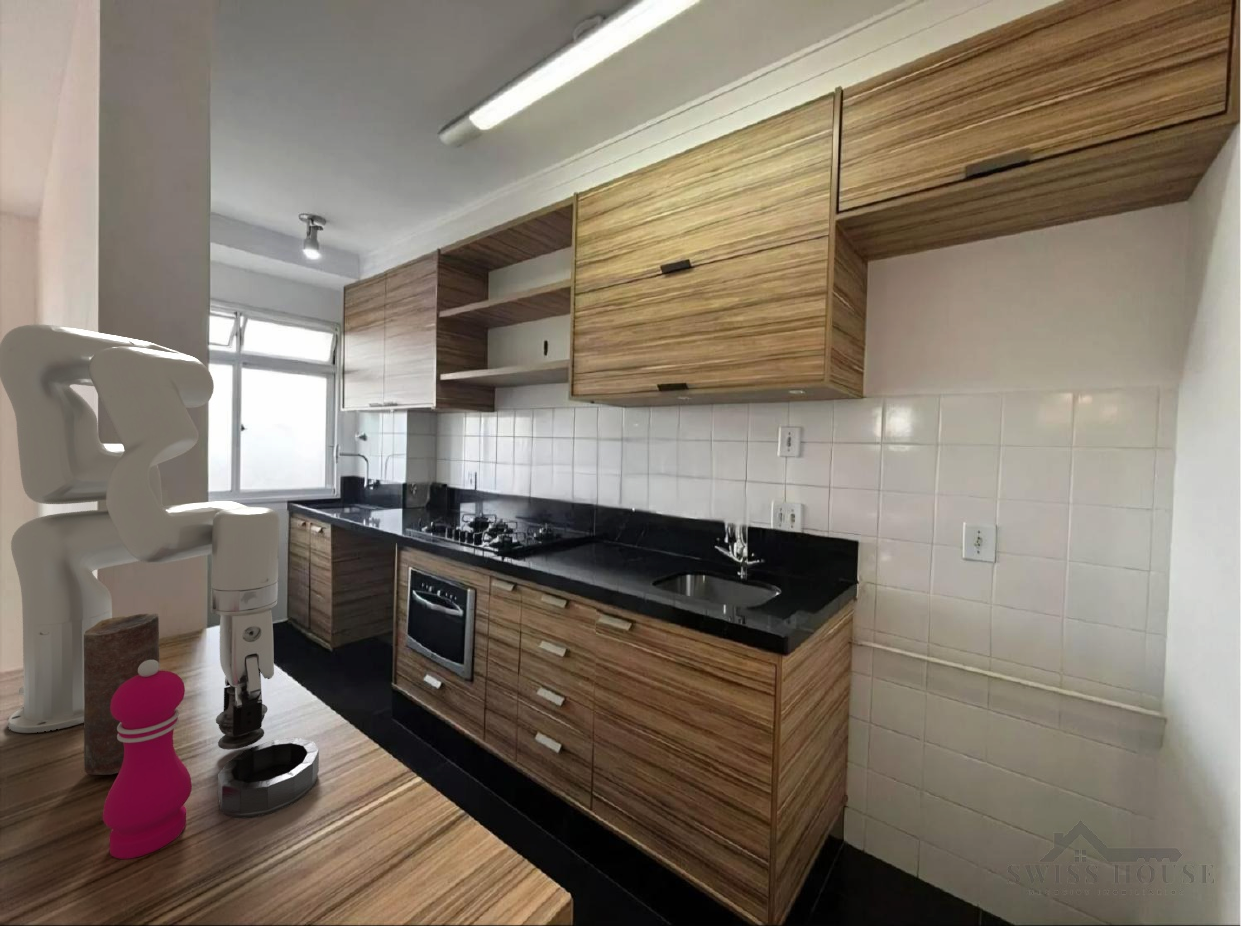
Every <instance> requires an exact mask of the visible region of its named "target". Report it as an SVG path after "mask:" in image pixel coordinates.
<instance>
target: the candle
mask: <svg viewBox="0 0 1241 926" xmlns="http://www.w3.org/2000/svg"><path fill="white" fill-rule="evenodd" d="M159 622H160V621H159V615H158V614H157V613H155V612H154V613H138V614H132V615H128V616H117V617H112V618H110V619H106V620H101V621H100V622H98V623H97V624H96V625H95V626H94V627H91V628H90V629H88V630H87V631H85V634H84V723H83V743H84V745H83V746H84V747H83V754H84V755H83V759H84V760H83V765H84V772H85V773H86V774H87V775H103V776H105V775H106V776H107V775H115V774H119V771H120V769H121V767H122V763H123V760H124V744H123V742H121V741H119V740H118V739H117V735H118V731H117V727H118V725H119V724H120V723H121V722H120V721H118V720H116V719H115V718H114V717H113V715H112V713H111V709H110V706H111V700H112V697H113V695H114V694H115V692H116V690H117V689H118V688H119V687H120V686H121V685H122V684H123V683H124V682H126V681H127V680H129V679H131V678H133V677H135V676H137V675H139V673H138V667H139V666H140V665H141V664H142V663H143V662H144V661H147V660H156V661H157V662H159V663H160V643H159V642H160V628H159V627H160V626H159V624H160V623H159ZM158 671H160V669H159V670H158Z"/></svg>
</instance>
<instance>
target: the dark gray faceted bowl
mask: <svg viewBox="0 0 1241 926" xmlns="http://www.w3.org/2000/svg"><path fill="white" fill-rule="evenodd" d="M319 753H320V748H318V746H317V745H316V743H315V742H314V741H313V740H309V739H305V738H301V737H299V738H298V737H290V738H283V739H273V740H270V741H267V742H264V743H262V744H259V745H255V746H253V747H250V748H247V749H246V750H244V751H243V752H241V753H239V754H237V755H236V756H235V757H232V758H231V759H230V760H228V761H227V762H226V764H225V765H224V766H223V768H221V770H220V771H219V773H218V774H217V779H218V780H217V798H218V801H219V809H220V810H221V812H222V813H223V814H224V815H226V816H228V817H232V818H236V819H237V818H238V819H249V818H251V819H252V818H256V817H262V816H266V815H269V814H272V813H276V812H278V811H280V810H282V809H285V808H287V807H289V806H291V805H293V804H294V803H297V802H298V801H299V800H300V799H302V798H303V797H304V796H306V795H307V794H308V793H309V792H310V791H311V790H312V789H313V787H314V786H315V784H316V781H317V779H318V774H319V771H320V769H319V768H320V766H319V765H320V759H319V757H320V754H319Z"/></svg>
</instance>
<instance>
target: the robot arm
mask: <svg viewBox="0 0 1241 926" xmlns="http://www.w3.org/2000/svg"><path fill="white" fill-rule="evenodd" d="M0 381H1V384H2V386H3V388H4V391H5V392H6V393H5V394H7V397H8V399H9V401H10V403H11V406H12V408H13V411H14V416H15V421H16V434H17V448H18V460H19V469H20V477H21V482H22V483H21V484H22V487H23V488H22V489H23V490H24V492H25V495H26V496H27V497H28V498H29V499H30V500H31V501H33V502H36V503H39V504H45V505H67V504H69V505H70V504H72V505H73V504H81V503H92V502H93V503H94V502H97V503H98V502H106V503H105V504H106V509H92V510H91V509H89V510H82V511H81V510H80V511H71V512H61V513H55V514H54V513H53V514H49V515H43V516H40V517H39V516H38V517H37V518H34V519H32V520H29V521H26V522H25V523H23V524H21V526H19V527H18V528H17V529H16V530H15V532H14V534H13V535H12V537H11V542H10V548H11V554H12V559H13V561H14V564H15V567H16V568H15V569H16V571H17V576H18V580H19V585H20V594H21V607H22V610H21V611H22V653H23V654H22V660H23V661H22V663H23V664H22V666H23V667H22V668H23V669H22V671H23V673H22V674H23V675H22V677H23V686H21V687H19V688H18V692H17V693H18V695H21V696H23V706H22V707H21V708H19V709H18V710H16V711H14V712H13V713H12V714H11V715H10V716H9V717H8V718H7V719H8V720H7V727H9V728H8V730H10V729H11V730H10V731H12V732H14V733H18V734H21V733H22V734H35V733H37V732H38V733H45V732H44V731H46V732H51V731H50V730H52V731H57V730H56V729H58V730H62V729H65V728H69V727H70V728H71V727H73V726H77V725H80V724H84V634H85V631H87V630H88V629H90V628H91V627H94V626H95V625H96V624H97V623H98V622H100V621H101V620H106V619H110V618H113V598H112V594H111V592H110V590H109V589H108V587H106V585H105V584H103V583H102V582H101V581H100V580H99V579H98V578H97V577H96V576H95V575H94V573H93V572H94V571H96V570H101V569H105V568H110V567H114V566H120V565H121V566H122V565H125V564H131V563H132V564H133V563H135V562H143V563H145V564H156V565H157V564H158V565H159V564H165V563H171V562H176V561H182V560H187V559H191V558H197V557H201V556H208V555H211V572H210V573H211V574H210V575H211V577H210V579H211V582H210V583H211V584H210V587H211V588H210V612H211V613H212V614H215V615H218V616H219V617H220V621H219V622H220V623H219V661H220V662H219V663H220V667H221V670H222V671H223V674H224V676H225V678H224V679H225V680H224V684H225V687H224V688H223V711H225V710H227V709H228V707H229V697H230V694H229V693H227V689H228V688H229V687H230V685H231V686H233V687H235V697H236V706H233V727H232V733H233V735H234V736H238V735H241V734H245V733H248V732H251V731H254V730H258V729H260V728H262V725H263V723H262V722H263V721H262V704H263V694H262V677H263V679H267V680H271V679H272V678H273V676H274V674H275V664H274V662H275V661H274V660H275V658H274V655H275V654H274V628H273V626H274V624H273V617H272V616H273V615H272V609H271V608H273V607H275V606H276V605H277V604H278V591H279V590H278V589H279V588H278V586H279V584H278V583H279V581H278V579H279V554H280V553H279V551H280V550H279V547H280V546H279V544H280V517H279V514H278V513H277V511H276V510H274V509H272V508H269V507H261V506H259V507H258V506H247V505H245V504H242V503H239V502H235V501H231V500H217V501H216V500H213V501H204V502H192V503H182V504H172V505H164V504H163V494H162V493H163V491H162V490H163V489H162V481H161V480H162V479H161V472H160V468H159V464H161V463H164V462H167V461H169V460H171V459H174V458H176V457H179V456H181V455H183V454H185V453H187V452H188V451H190V450H191V449H192V448H193V447H194V446H196V444H197V443H198V441H199V439H200V437H199V436H200V433H199V431H198V429H197V426H196V425H195V423H194V421H193V419H192V418H191V417H192V416H191V415H190V414H189V411H188V408H189V409H194V408H198V407H199V408H200V407H202V406H204V405H206V404H207V403H209V401H210V400H211V398H212V395H213V394H214V387H215V386H214V380H213V376H212V375H211V372H210V370H209V369H208V368H207V366H206V365H205V364H204V363H203V362H202V361H200V360H199V359H198V358H196V357H193V356H191V355H188V354H186V353H183V352H179V351H177V350H174V349H170V348H167V347H165V346H161V345H159V344H156V343H152V342H149V341H145V340H139V339H134V338H131V337H126V336H125V337H124V336H119V335H113V334H107V333H101V332H96V331H92V330H85V329H82V328H81V329H80V328H74V327H68V326H60V325H53V324H52V325H51V324H25V325H21V326H17V327H14V328H13V329H11V330H9V331H8V332H7V333H6V334H5V335H4V337H3V338H2V339H1V342H0ZM72 385H77V386H86V387H87V386H88V387H94V388H95V391H96V393H97V396H98V397H99V399H100V401H101V404H102V406H103V408H104V409H105V412H106V414H107V415H108V418H109V420H110V423H111V425H112V427H113V428H114V431H115V433H116V435H117V437H118V439H119V441H120V443H103V442H101V440H100V436H99V428H98V427H99V426H98V418H97V415H96V412H95V411H94V409H93V408H92V407H91V405H90V404H89V403H88V402H87V401H86V400H85V398H84V397H83V396H82V395H80V393H78V392H77V391H76V390H74V388H72V387H71V386H72ZM244 677H246V679H247V681H245V682H241V683H240V678H244ZM245 686H247V691H245V692H244V693H243V694H242V690H241V687H245ZM38 733H37V734H38Z"/></svg>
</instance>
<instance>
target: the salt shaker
mask: <svg viewBox="0 0 1241 926" xmlns="http://www.w3.org/2000/svg"><path fill="white" fill-rule="evenodd" d="M245 681H247V679H246V677H244V678H240V683H241V682H245ZM228 687H229V686H228ZM241 690H242V694H243V693H244V692H245V691H247V686H245V687H241ZM227 693H229V694H230V697H229V707H228V709H227V710H225V711H224V710H223V711H221V712H220V713H219V714H218V715H217V716H216V718H215V723H216V724H217V725H218V729H219V730H220V732H221V733H222V734H223V736H221V737H220V739H219V740H218V742H217V746H218V747H219V748H220V749H221V750H227V751H228V750H238V749H243V748H246V747H249V746H251V745H253V744H255V743H257V742H259V741H260V740H261V739H262V738H263V737H264V735H265V730H264V729H263V728H262V727H261V728H260V729H258V730H254V731H251V732H248V733H245V734H241V735H238V736H234V735H233V733H232V727H233V706H236V697H235V687H233V686H231V685H230V687H229V688H228V689H227ZM267 712H268V707H267V705H265V704H264V703H262V722H263V720H264V719H265V715H266V713H267Z"/></svg>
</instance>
